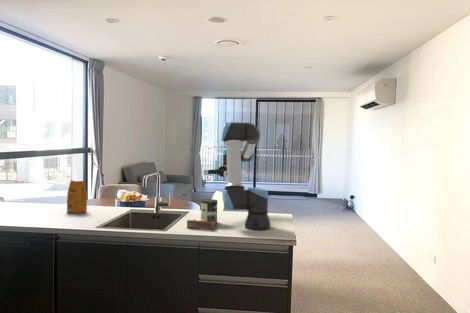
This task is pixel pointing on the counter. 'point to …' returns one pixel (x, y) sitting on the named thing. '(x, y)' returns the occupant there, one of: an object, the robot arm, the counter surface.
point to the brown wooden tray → (201, 225)
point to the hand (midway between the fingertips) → (214, 173)
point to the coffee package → (77, 197)
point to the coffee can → (209, 210)
